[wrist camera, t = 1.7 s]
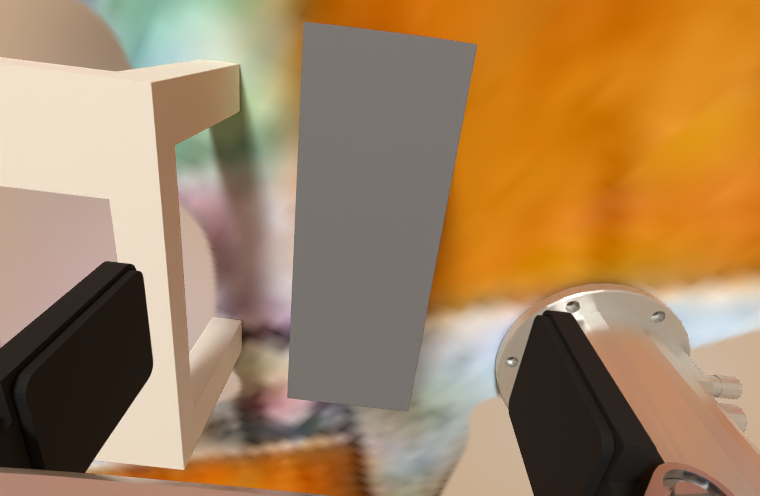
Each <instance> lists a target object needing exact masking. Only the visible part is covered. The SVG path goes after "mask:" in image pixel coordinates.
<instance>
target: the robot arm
mask: <svg viewBox="0 0 760 496" xmlns="http://www.w3.org/2000/svg"><path fill="white" fill-rule="evenodd" d="M152 370H153V354H152V346H151V337H150V328H149V320H148V311H147V303H146V294H145V285H144V277H143V274H142V272H141V271H137V270H136V268H135V266H134V265H133V264H128V263H119V262H109V261H107V262H104V263H102V264H101V265H100V266H99V267H97V268H96V269H95V270H94V271H93V272H91V273H90V274H89V275H88V276H87V277H85V278H84V279H83V280H82V281H81V282H79V283H78V284H77V285H76V286H75V287H74V288H72V289H71V290H70V291H69V292H67V293H66V294H65V295H64V296H63V297H61V298H60V299H59V300H58V301H57V302H56V303H54V304H53V305H52V306H51V307H49V308H48V309H47V310H46V311H45V312H43V314H41V315H40V316H39V317H37V318H36V319H35V320H34V321H33V322H31V323H30V324H29V325H28V326H27V327H25V328H24V329H23V330H22V331H21V332H20V333H18V334H17V335H16V336H15V337H13V338H12V339H11V340H10V341H9V342H7V343H6V344H5V345H4V346H3V347H1V348H0V496H329V495H319V494H308V493H298V492H287V491H277V490H266V489H256V488H245V487H235V486H224V485H213V484H202V483H191V482H179V481H168V480H157V479H146V478H135V477H124V476H113V475H102V474H90V473H85V472H86V470H87V469H88V467H89V466H90V465H91V463H92V462H93V460H94V459H95V457H96V456H97V454H98V453H99V451H100V450H101V448H102V447H103V445H104V444H105V442H106V441H107V439H108V438H109V437H110V435H111V434H112V432H113V431H114V429H115V428H116V426H117V425H118V423H119V422H120V420H121V419H122V417H123V416H124V414H125V413H126V412H127V410H128V409H129V407H130V406H131V404H132V403H133V401H134V400H135V398H136V397H137V395H138V394H139V392H140V391H141V389H142V388H143V386H144V385H145V384H146V382H147V381H148V379H149V377H150V376H151V373H152ZM495 371H496V378H497V384H498V387H499V390H500V393H501V397H502V399H503V401H504V402H505V404H506V406H507V408H508V409H509V415H510V419H511V422H512V425H513V428H514V432H515V435H516V438H517V442H518V445H519V448H520V451H521V455H522V458H523V461H524V464H525V468H526V471H527V474H528V477H529V481H530V484H531V487H532V491H533V494H534V496H760V451H759V450H758V449H757V448H756V446H755V445H754V444H753V443H752V442H751V441H750V440H749V438H748V437H747V436H746V435H745V434H744V433H743V432H744V431H745V430H746V425H747V421H746V416H745V414H744V412H743V411H742V409H741V408H740V407H738V406H737V405H731V404H722V403H717V401H716V400H715V399H714V398H713V397H712V396H714V397H719V398H728V399H738V398H739V397H740V396H741V394H742V385H741V383H740V381H739V380H738V379H737V378H735V377H728V376H720V375H705V374H704V373H703V372H702V371H701V370H700V368H699V367H698V366H697V365H696V364H695V363H694V362H693V361H692V359H691V358H690V345H689V339H688V335H687V333H686V331H685V329H684V326H683V324H682V322H681V321H680V320H679V319H678V318H677V316H676V315H675V314H674V313H673V312H672V311H671V310H670V309H669V308H668V307H667V306H666V305H665V304H664V303H663V302H662V301H660V300H659V299H658V298H656V297H654V296H653V295H651V294H649V293H647V292H645V291H643V290H640V289H637V288H634V287H630V286H627V285H620V284H611V283H601V284H587V285H582V286H577V287H573V288H569V289H566V290H563V291H561V292H558V293H555V294H553V295H550V296H549V297H547V298H545V299H543V300H542V301H540V302H538V303H536V304H535V305H533V306H532V307H531V308H530V309H528V310H527V311H526V312H525V313H523V314H522V315H521V316H520V317H519V318H518V319H517V320H516V322H515V323H514V324H513V325H512V326H511V327H510V328H509V330H508V332H507V333H506V335H505V337H504V338H503V340H502V342H501V345H500V348H499V351H498V353H497V357H496V368H495Z"/></svg>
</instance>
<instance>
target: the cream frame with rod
mask: <svg viewBox="0 0 760 496" xmlns="http://www.w3.org/2000/svg"><path fill="white" fill-rule="evenodd" d="M238 112H240V75H239V64H235V63H227V62H220V61H212V60H204V59H201V60H194V61H187V62H180V63H173V64H166V65H160V66H153V67H146V68H139V69H132V70H126V71H119V72H113V71H105V70H98V69H89V68H82V67H73V66H66V65H58V64H50V63H42V62H34V61H26V60H19V59H11V58H2V57H0V186H3V187H11V188H20V189H28V190H36V191H45V192H53V193H62V194H69V195H78V196H86V197H94V198H103V199H109V202H110V210H111V217H112V224H113V232H114V239H115V247H116V253H117V262H119V263H128V264H133V265H134V266H135V268H136V270H137V271H141V272H142V274H143V277H144V285H145V294H146V303H147V311H148V320H149V328H150V337H151V346H152V354H153V370H152V373H151V376H150V377H149V379H148V381H147V382H146V384H145V385H144V386H143V388H142V389H141V391H140V392H139V394H138V395H137V397H136V398H135V400H134V401H133V403H132V404H131V406H130V407H129V409H128V410H127V412H126V413H125V414H124V416H123V417H122V419H121V420H120V422H119V423H118V425H117V426H116V428H115V429H114V431H113V432H112V434H111V435H110V437H109V438H108V439H107V441H106V442H105V444H104V445H103V447H102V448H101V450H100V451H99V453H98V454H97V456H96V457H95V459H94V460H98V461H107V462H116V463H125V464H134V465H144V466H153V467H162V468H171V469H180V470H184V469H185V467H186V465H187V463H188V461H189V459H190V456H191V454H192V452H193V450H194V448H195V446H196V444H197V442H198V440H199V438H200V436H201V434H202V432H203V430H204V427H205V425H206V423H207V421H208V419H209V417H210V415H211V413H212V411H213V409H214V407H215V405H216V403H217V401H218V398H219V396H220V394H221V392H222V390H223V388H224V386H225V384H226V382H227V380H228V378H229V376H230V374H231V372H232V369H233V367H234V365H235V363H236V361H237V359H238V357H239V355H240V353H241V351H242V320H235V319H226V318H217V317H212V319H211V320H210V322H209V323H208V325H207V327H206V328H205V330H204V331H203V333H202V334H201V336H200V337H199V339H198V341H197V342H196V344H195V345H194V347H193V348H192V350H191V351H190V353H189V347H188V333H187V317H186V303H185V288H184V274H183V259H182V246H181V230H180V216H179V201H178V186H177V172H176V157H175V145H176V144H178V143H180V142H182V141H184V140H186V139H188V138H190V137H192V136H194V135H196V134H197V133H199V132H201V131H203V130H205V129H207V128H209V127H211V126H213V125H215V124H217V123H219V122H221V121H223V120H225V119H226V118H228V117H230V116H232V115H234V114H236V113H238Z"/></svg>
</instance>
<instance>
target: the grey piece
mask: <svg viewBox="0 0 760 496" xmlns="http://www.w3.org/2000/svg"><path fill="white" fill-rule="evenodd" d="M476 49H477V44H471V43H465V42H459V41H453V40H447V39H441V38H433V37H426V36H418V35H410V34H402V33H395V32H387V31H379V30H372V29H364V28H356V27H349V26H339V25H329V24H318V23H308V22H304V28H303V51H302V74H301V97H300V120H299V143H298V165H297V188H296V211H295V234H294V257H293V280H292V303H291V326H290V349H289V372H288V394H287V398H293V399H301V400H310V401H319V402H328V403H337V404H346V405H355V406H364V407H373V408H381V409H390V410H399V411H408V409H409V404H410V398H411V393H412V388H413V382H414V377H415V372H416V367H417V361H418V356H419V351H420V345H421V340H422V335H423V329H424V324H425V319H426V314H427V308H428V303H429V298H430V292H431V287H432V282H433V276H434V271H435V266H436V261H437V255H438V250H439V245H440V239H441V234H442V229H443V224H444V218H445V213H446V208H447V202H448V197H449V192H450V186H451V181H452V176H453V171H454V165H455V160H456V155H457V149H458V144H459V139H460V134H461V128H462V123H463V118H464V112H465V107H466V102H467V96H468V91H469V86H470V81H471V75H472V70H473V65H474V59H475V54H476Z"/></svg>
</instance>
